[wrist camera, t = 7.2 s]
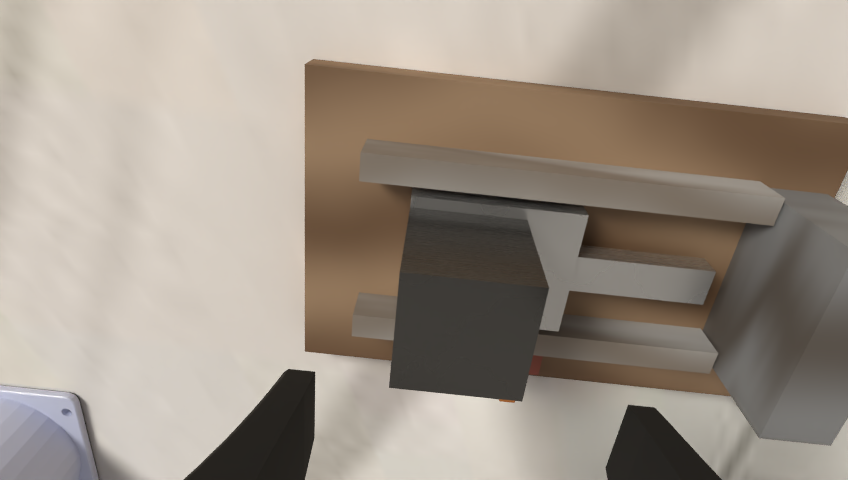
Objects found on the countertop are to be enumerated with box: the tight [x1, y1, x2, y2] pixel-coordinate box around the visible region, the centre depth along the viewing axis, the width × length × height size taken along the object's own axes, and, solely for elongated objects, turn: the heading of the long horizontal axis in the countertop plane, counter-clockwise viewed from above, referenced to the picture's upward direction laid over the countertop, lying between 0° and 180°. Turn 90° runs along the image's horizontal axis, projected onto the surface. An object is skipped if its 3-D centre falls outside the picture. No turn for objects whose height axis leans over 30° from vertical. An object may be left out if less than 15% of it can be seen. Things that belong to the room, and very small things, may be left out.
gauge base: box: [305, 59, 848, 446], centre depth 19 cm, size 12×19×6 cm, turn 84°
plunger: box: [389, 187, 716, 403], centre depth 19 cm, size 8×11×6 cm
